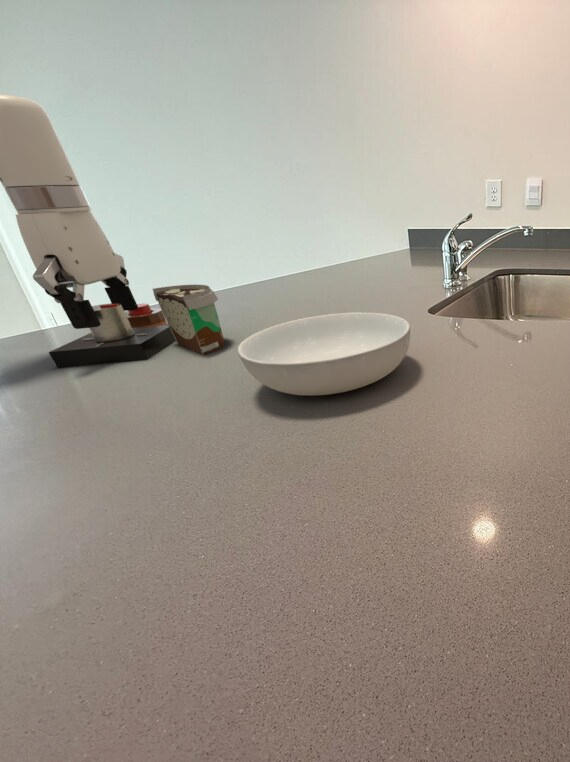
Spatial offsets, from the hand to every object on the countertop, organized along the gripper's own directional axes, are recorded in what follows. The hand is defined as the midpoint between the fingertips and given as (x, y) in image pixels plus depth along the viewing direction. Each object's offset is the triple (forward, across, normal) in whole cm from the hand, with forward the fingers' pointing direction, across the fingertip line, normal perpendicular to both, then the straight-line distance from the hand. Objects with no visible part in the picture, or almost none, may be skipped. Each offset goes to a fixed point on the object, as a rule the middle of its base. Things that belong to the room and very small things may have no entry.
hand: (109, 318), depth 65 cm
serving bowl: (+7, +21, +36) cm, 43 cm away
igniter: (+6, -12, -2) cm, 14 cm away
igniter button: (+3, -12, -2) cm, 12 cm away
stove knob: (+3, 0, 0) cm, 3 cm away
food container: (+7, 0, +12) cm, 14 cm away
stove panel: (+6, 0, 0) cm, 6 cm away
